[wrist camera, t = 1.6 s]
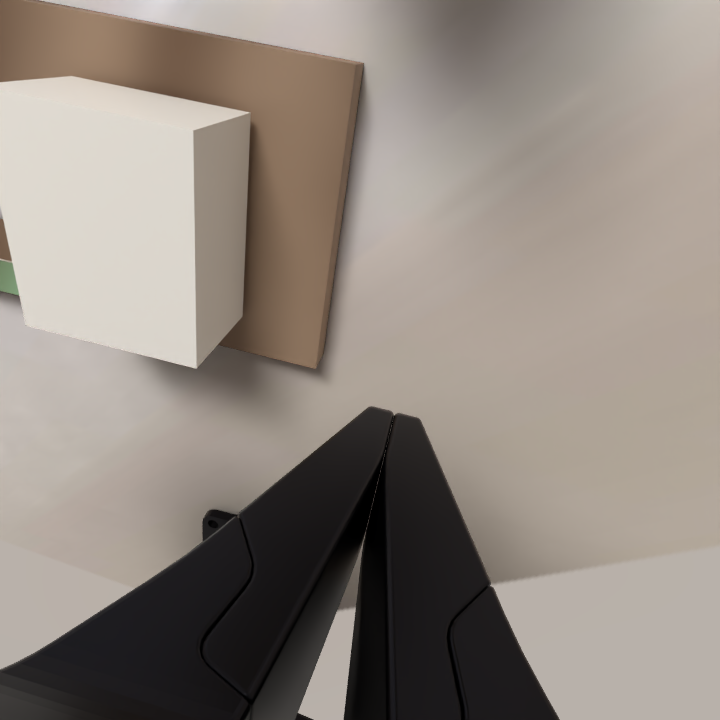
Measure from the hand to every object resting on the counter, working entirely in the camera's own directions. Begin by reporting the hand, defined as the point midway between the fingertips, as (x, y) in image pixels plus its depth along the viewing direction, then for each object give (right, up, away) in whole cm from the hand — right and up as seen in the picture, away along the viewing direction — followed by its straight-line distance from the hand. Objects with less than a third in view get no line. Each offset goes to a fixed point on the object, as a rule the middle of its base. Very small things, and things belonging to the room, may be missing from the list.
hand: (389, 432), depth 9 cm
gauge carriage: (-8, +5, +7) cm, 12 cm away
